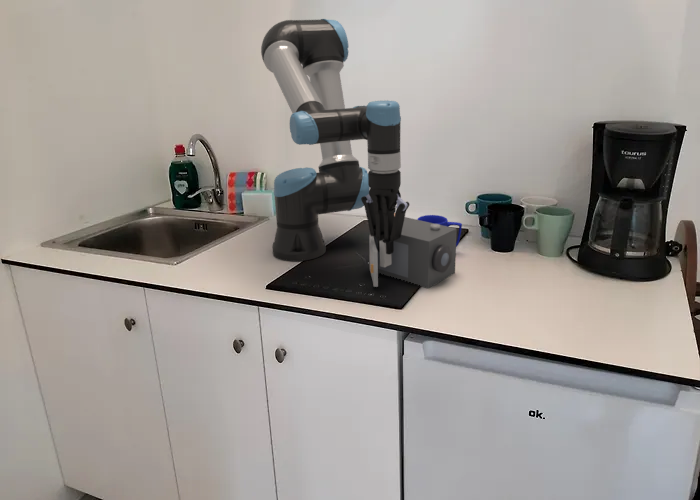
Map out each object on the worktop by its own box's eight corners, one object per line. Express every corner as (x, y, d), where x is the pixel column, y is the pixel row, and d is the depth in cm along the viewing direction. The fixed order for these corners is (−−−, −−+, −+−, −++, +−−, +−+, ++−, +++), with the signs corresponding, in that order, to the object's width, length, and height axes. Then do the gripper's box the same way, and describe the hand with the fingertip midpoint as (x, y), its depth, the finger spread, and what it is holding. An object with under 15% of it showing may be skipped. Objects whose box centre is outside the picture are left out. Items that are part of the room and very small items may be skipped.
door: (367, 269, 148) (366, 234, 145) (373, 269, 148) (372, 234, 145) (371, 288, 137) (370, 250, 134) (377, 287, 137) (377, 250, 134)
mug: (460, 260, 154) (461, 224, 151) (415, 258, 157) (415, 223, 153) (460, 249, 162) (462, 215, 158) (418, 247, 164) (418, 214, 161)
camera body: (370, 270, 149) (369, 223, 145) (398, 257, 158) (398, 212, 153) (433, 290, 137) (435, 239, 132) (460, 274, 145) (462, 226, 141)
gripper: (352, 169, 134) (355, 263, 142) (396, 176, 125) (397, 276, 133) (373, 164, 139) (375, 255, 147) (416, 170, 131) (416, 266, 139)
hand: (385, 265), depth 140 cm, fingers closed
